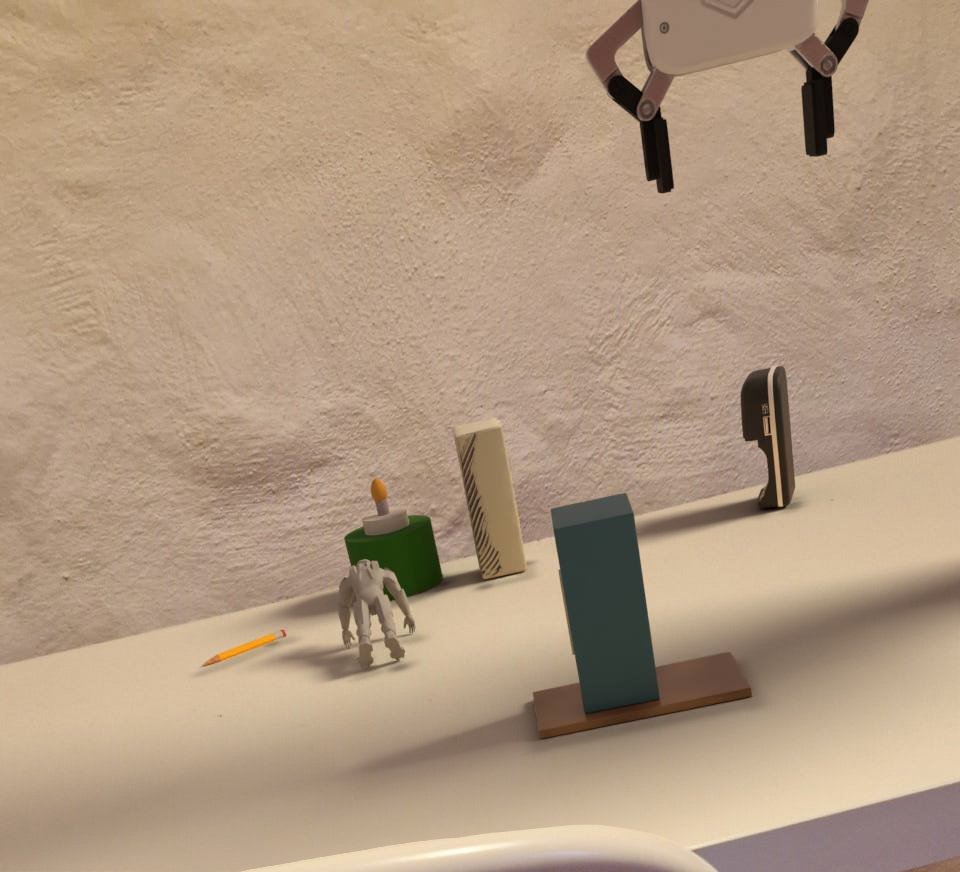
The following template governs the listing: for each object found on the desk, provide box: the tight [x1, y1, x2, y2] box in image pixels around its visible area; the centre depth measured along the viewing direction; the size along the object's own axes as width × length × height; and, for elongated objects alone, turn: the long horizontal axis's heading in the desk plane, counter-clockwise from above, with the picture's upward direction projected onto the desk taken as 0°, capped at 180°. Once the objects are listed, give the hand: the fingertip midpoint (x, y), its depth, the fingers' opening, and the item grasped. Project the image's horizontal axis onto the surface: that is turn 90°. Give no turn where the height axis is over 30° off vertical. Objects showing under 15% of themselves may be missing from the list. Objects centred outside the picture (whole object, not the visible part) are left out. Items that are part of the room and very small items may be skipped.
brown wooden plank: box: [532, 651, 753, 740], centre depth 94 cm, size 14×8×1 cm, turn 91°
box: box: [452, 416, 528, 580], centre depth 127 cm, size 5×4×13 cm
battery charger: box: [740, 365, 796, 509], centre depth 129 cm, size 7×4×11 cm, turn 165°
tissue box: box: [550, 492, 660, 714], centre depth 91 cm, size 12×6×5 cm
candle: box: [343, 477, 444, 601], centre depth 131 cm, size 8×8×10 cm
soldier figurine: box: [337, 559, 417, 669], centre depth 117 cm, size 6×5×12 cm
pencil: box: [202, 629, 287, 666], centre depth 126 cm, size 1×9×1 cm, turn 125°
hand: (740, 173), depth 89 cm, fingers open, 9 cm apart
